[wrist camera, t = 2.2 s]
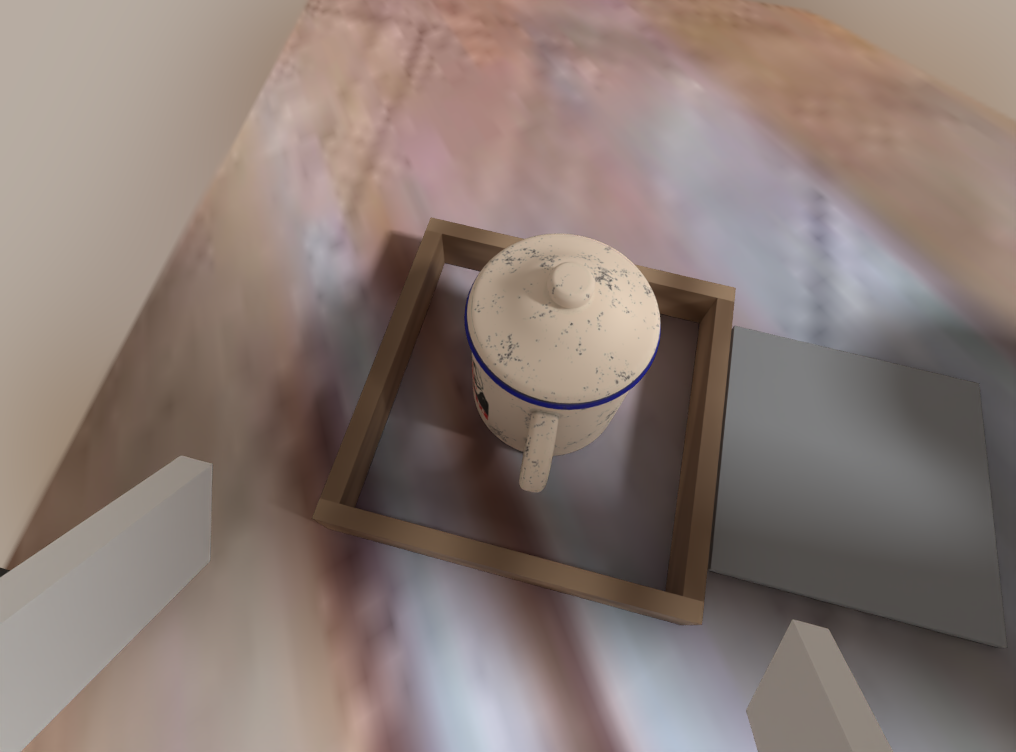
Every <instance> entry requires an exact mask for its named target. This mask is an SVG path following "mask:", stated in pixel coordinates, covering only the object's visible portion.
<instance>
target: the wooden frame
mask: <svg viewBox="0 0 1016 752" xmlns="http://www.w3.org/2000/svg"><path fill="white" fill-rule="evenodd" d="M521 240H524V239H522V238H518V237H513V236H509V235H505V234H500V233H496V232H492V231H487V230H483V229H479V228H474V227H470V226H466V225H461V224H457V223H453V222H448V221H444V220H440V219H435V218H430V221H429V224H428V226H427V229H426V231H425V234H424V236H423V239H422V241H421V244H420V246H419V249H418V251H417V254H416V256H415V259H414V261H413V264H412V267H411V269H410V272H409V274H408V277H407V279H406V282H405V284H404V287H403V289H402V292H401V294H400V297H399V299H398V302H397V304H396V307H395V309H394V312H393V315H392V317H391V320H390V322H389V325H388V327H387V330H386V332H385V335H384V337H383V340H382V342H381V345H380V347H379V350H378V352H377V355H376V358H375V360H374V363H373V365H372V368H371V370H370V373H369V375H368V378H367V380H366V383H365V385H364V388H363V390H362V393H361V395H360V398H359V400H358V403H357V406H356V408H355V411H354V413H353V416H352V418H351V421H350V423H349V426H348V428H347V431H346V433H345V436H344V438H343V441H342V443H341V446H340V448H339V451H338V454H337V456H336V459H335V461H334V464H333V466H332V469H331V471H330V474H329V476H328V479H327V481H326V484H325V486H324V489H323V491H322V494H321V497H320V499H319V502H318V504H317V507H316V509H315V512H314V514H313V517H312V519H314V520H315V521H317V522H318V523H320V524H321V525H323V526H325V527H326V528H328V529H331V530H335V531H339V532H342V533H346V534H350V535H353V536H357V537H361V538H364V539H368V540H372V541H375V542H379V543H383V544H386V545H390V546H394V547H397V548H401V549H405V550H408V551H412V552H415V553H419V554H423V555H426V556H430V557H434V558H437V559H441V560H445V561H448V562H452V563H456V564H459V565H463V566H467V567H470V568H474V569H478V570H481V571H485V572H489V573H492V574H496V575H500V576H503V577H507V578H511V579H514V580H518V581H522V582H525V583H529V584H533V585H536V586H540V587H544V588H547V589H551V590H554V591H558V592H562V593H565V594H569V595H573V596H576V597H580V598H584V599H587V600H591V601H595V602H598V603H602V604H606V605H609V606H613V607H617V608H620V609H624V610H628V611H631V612H635V613H639V614H642V615H646V616H650V617H653V618H657V619H661V620H664V621H668V622H672V623H675V624H679V625H702V619H703V609H704V599H705V589H706V579H707V569H708V559H709V549H710V539H711V529H712V519H713V509H714V499H715V489H716V479H717V469H718V459H719V449H720V439H721V429H722V419H723V409H724V400H725V390H726V380H727V370H728V360H729V350H730V340H731V330H732V320H733V310H734V300H735V290H736V288H734V287H729V286H725V285H721V284H716V283H712V282H708V281H703V280H699V279H695V278H690V277H686V276H682V275H678V274H673V273H669V272H665V271H660V270H656V269H652V268H647V267H643V266H639V265H635V266H636V267H637V268H638V269H639V270H640V272H641V273H642V274H643V275H644V277H645V278H646V280H647V281H648V283H649V285H650V287H651V288H652V290H653V293H654V295H655V298H656V301H657V304H658V308H659V313H660V314H664V315H668V316H672V317H676V318H681V319H685V320H689V321H693V322H698V323H700V325H699V333H698V340H697V348H696V356H695V364H694V372H693V379H692V387H691V395H690V403H689V411H688V418H687V426H686V434H685V442H684V450H683V457H682V465H681V473H680V481H679V489H678V496H677V504H676V512H675V520H674V528H673V535H672V543H671V551H670V559H669V567H668V574H667V582H666V590H665V591H661V590H658V589H654V588H650V587H647V586H643V585H639V584H635V583H632V582H628V581H624V580H621V579H617V578H613V577H610V576H606V575H602V574H598V573H595V572H591V571H587V570H584V569H580V568H576V567H572V566H569V565H565V564H561V563H558V562H554V561H550V560H547V559H543V558H539V557H535V556H532V555H528V554H524V553H521V552H517V551H513V550H510V549H506V548H502V547H498V546H495V545H491V544H487V543H484V542H480V541H476V540H472V539H469V538H465V537H461V536H458V535H454V534H450V533H447V532H443V531H439V530H435V529H432V528H428V527H424V526H421V525H417V524H413V523H409V522H406V521H402V520H398V519H395V518H391V517H387V516H384V515H380V514H376V513H372V512H369V511H365V510H361V509H358V508H355V506H356V503H357V501H358V498H359V495H360V492H361V490H362V487H363V484H364V481H365V479H366V476H367V473H368V471H369V468H370V465H371V462H372V460H373V457H374V454H375V451H376V449H377V446H378V443H379V441H380V438H381V435H382V432H383V430H384V427H385V424H386V421H387V419H388V416H389V413H390V411H391V408H392V405H393V402H394V400H395V397H396V394H397V391H398V389H399V386H400V383H401V381H402V378H403V375H404V372H405V370H406V367H407V364H408V362H409V359H410V356H411V353H412V351H413V348H414V345H415V342H416V340H417V337H418V334H419V332H420V329H421V326H422V323H423V321H424V318H425V315H426V312H427V310H428V307H429V304H430V302H431V299H432V296H433V293H434V291H435V288H436V285H437V282H438V280H439V277H440V274H441V272H442V269H443V266H444V263H448V264H452V265H457V266H461V267H465V268H469V269H474V270H478V271H481V270H482V269H483V267H484V266H485V265H486V264H487V263H488V262H489V261H490V260H491V259H492V258H493V257H494V256H495V255H497V254H498V253H499V252H501V251H502V250H504V249H505V248H507V247H509V246H510V245H512V244H514V243H517V242H519V241H521Z"/></svg>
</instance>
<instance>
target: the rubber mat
mask: <svg viewBox="0 0 1016 752" xmlns="http://www.w3.org/2000/svg"><path fill="white" fill-rule="evenodd" d="M707 570H708V571H712V572H715V573H719V574H723V575H727V576H730V577H734V578H738V579H742V580H746V581H749V582H753V583H757V584H761V585H764V586H768V587H772V588H776V589H779V590H783V591H787V592H791V593H794V594H798V595H802V596H806V597H809V598H813V599H817V600H821V601H824V602H828V603H832V604H836V605H840V606H843V607H847V608H851V609H855V610H858V611H862V612H866V613H870V614H873V615H877V616H881V617H885V618H888V619H892V620H896V621H900V622H903V623H907V624H911V625H915V626H918V627H922V628H926V629H930V630H934V631H937V632H941V633H945V634H949V635H952V636H956V637H960V638H964V639H967V640H971V641H975V642H979V643H982V644H986V645H990V646H994V647H998V648H1007V640H1006V630H1005V621H1004V612H1003V602H1002V593H1001V584H1000V574H999V565H998V556H997V546H996V537H995V527H994V518H993V509H992V499H991V490H990V481H989V471H988V462H987V452H986V443H985V434H984V424H983V415H982V406H981V396H980V387H979V383H975V382H971V381H967V380H963V379H958V378H954V377H950V376H946V375H941V374H937V373H933V372H929V371H924V370H920V369H916V368H912V367H907V366H903V365H899V364H895V363H891V362H886V361H882V360H878V359H874V358H869V357H865V356H861V355H857V354H852V353H848V352H844V351H840V350H835V349H831V348H827V347H823V346H818V345H814V344H810V343H806V342H802V341H797V340H793V339H789V338H785V337H780V336H776V335H772V334H768V333H763V332H759V331H755V330H751V329H746V328H742V327H738V326H734V327H733V328H732V330H731V340H730V350H729V360H728V370H727V380H726V390H725V400H724V409H723V419H722V429H721V439H720V449H719V459H718V469H717V479H716V489H715V499H714V509H713V519H712V529H711V539H710V549H709V559H708V569H707Z"/></svg>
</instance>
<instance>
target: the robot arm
mask: <svg viewBox="0 0 1016 752" xmlns="http://www.w3.org/2000/svg"><path fill="white" fill-rule="evenodd" d="M212 470H213V464H212V463H208V462H204V461H200V460H197V459H193V458H189V457H186V456H182V455H181V456H179V457H178V458H176V459H175V460H173V461H172V462H170V463H169V464H167V465H166V466H164V467H163V468H161V469H160V470H158V471H157V472H156V473H154V474H153V475H151V476H150V477H148V478H147V479H145V480H144V481H142V482H141V483H139V484H138V485H136V486H135V487H133V488H132V489H130V490H129V491H127V492H126V493H124V494H123V495H122V496H120V497H119V498H117V499H116V500H114V501H113V502H111V503H110V504H108V505H107V506H105V507H104V508H102V509H101V510H99V511H98V512H96V513H95V514H93V515H92V516H90V517H89V518H87V519H86V520H85V521H83V522H82V523H80V524H79V525H77V526H76V527H74V528H73V529H71V530H70V531H68V532H67V533H65V534H64V535H62V536H61V537H59V538H58V539H56V540H55V541H53V542H52V543H51V544H49V545H48V546H46V547H45V548H43V549H42V550H40V551H39V552H37V553H36V554H34V555H33V556H31V557H30V558H28V559H27V560H25V561H24V562H22V563H21V564H19V565H18V566H16V567H15V568H14V569H12V570H11V571H10V570H6V569H3V568H0V752H21V751H22V750H23V749H24V748H25V747H26V746H27V745H28V744H29V743H30V742H31V741H32V740H33V739H34V738H35V737H36V736H37V735H38V734H39V733H40V732H41V731H42V730H43V729H44V728H45V727H46V726H47V725H48V724H49V723H50V722H51V720H52V719H53V718H54V717H55V716H56V715H57V714H58V713H59V712H60V711H61V710H62V709H63V708H64V707H65V706H66V705H67V704H68V703H69V702H70V701H71V700H72V699H73V698H74V697H75V696H76V695H77V694H78V693H79V692H80V691H81V690H82V689H83V688H84V687H85V686H86V685H87V684H88V683H89V682H90V681H91V680H92V679H93V678H94V677H95V676H96V675H97V674H98V673H99V672H100V671H101V670H102V669H103V668H104V667H105V666H106V665H107V664H108V663H109V662H110V661H111V660H112V659H113V658H114V657H115V656H116V655H117V654H118V653H119V652H120V651H121V650H122V649H123V648H124V647H125V646H126V645H127V644H128V643H129V642H130V641H131V640H132V639H133V638H134V637H135V636H136V635H137V634H138V633H139V632H140V631H141V630H142V629H143V628H144V627H145V626H146V625H147V624H148V623H149V622H150V621H151V620H152V619H153V618H154V617H155V616H156V615H157V614H158V613H159V612H160V611H161V610H162V609H163V608H164V607H165V606H166V605H167V604H168V603H169V602H170V601H171V600H172V599H173V598H174V597H175V596H176V595H177V594H178V593H179V592H180V591H181V590H182V589H183V588H184V587H185V586H186V585H187V584H188V583H189V582H190V581H191V580H192V579H193V578H194V577H195V576H196V575H197V574H198V573H199V572H200V571H201V570H202V569H203V568H204V567H205V566H206V565H207V564H208V563H209V562H210V551H211V511H212ZM746 712H747V715H748V719H749V722H750V725H751V729H752V732H753V736H754V739H755V743H756V746H757V750H758V752H893V750H892V749H891V747H890V745H889V743H888V741H887V739H886V737H885V735H884V733H883V731H882V730H881V728H880V726H879V724H878V722H877V720H876V718H875V716H874V714H873V712H872V711H871V709H870V707H869V705H868V703H867V701H866V699H865V697H864V695H863V693H862V691H861V690H860V688H859V686H858V684H857V682H856V680H855V678H854V676H853V674H852V672H851V671H850V669H849V667H848V665H847V663H846V661H845V659H844V657H843V655H842V653H841V652H840V650H839V648H838V646H837V644H836V642H835V640H834V638H833V636H832V634H831V632H830V631H829V629H827V628H824V627H820V626H816V625H812V624H809V623H805V622H801V621H797V620H794V619H792V621H791V623H790V625H789V627H788V629H787V631H786V633H785V635H784V637H783V639H782V641H781V643H780V645H779V647H778V649H777V651H776V653H775V654H774V656H773V658H772V660H771V662H770V664H769V666H768V668H767V670H766V672H765V674H764V676H763V678H762V680H761V682H760V684H759V686H758V688H757V690H756V692H755V694H754V696H753V698H752V700H751V702H750V704H749V706H748V708H747V710H746Z"/></svg>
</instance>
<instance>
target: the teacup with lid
mask: <svg viewBox="0 0 1016 752" xmlns="http://www.w3.org/2000/svg"><path fill="white" fill-rule="evenodd" d="M464 319H465V331H466V336H467V340H468V343H469V346H470V348H471V356H472V378H473V394H474V400H475V404H476V407H477V409H478V412H479V414H480V416H481V418H482V420H483V421H484V423H485V424H486V426H487V427H488V428H489V429H490V431H491V432H492V433H493V434H494V435H495V436H497V437H498V438H499V439H500V440H501V441H503V442H504V443H506V444H507V445H509V446H511V447H513V448H515V449H517V450H519V451H522V452H524V454H523V459H522V465H521V471H520V478H519V484H520V487H521V488H522V489H523V490H525V491H529V492H535V493H538V492H541V491H542V490H543V489H544V488H545V486H546V483H547V480H548V476H549V472H550V467H551V462H552V457H553V456H558V455H564V454H568V453H572V452H574V451H577V450H579V449H581V448H583V447H585V446H587V445H588V444H590V443H591V442H593V441H594V440H595V439H596V438H597V437H599V436H600V435H601V434H602V432H603V431H604V430H605V429H606V427H607V426H608V424H609V423H610V421H611V420H612V418H613V416H614V415H615V413H616V411H617V410H618V408H619V407H620V405H621V403H622V402H623V400H624V398H625V397H626V395H627V393H628V392H629V390H630V389H631V388H633V387H634V386H635V385H636V384H637V383H638V382H639V381H640V380H641V379H642V377H643V376H644V375H645V374H646V372H647V371H648V369H649V368H650V366H651V364H652V362H653V360H654V358H655V356H656V353H657V350H658V346H659V342H660V334H661V324H660V313H659V308H658V304H657V301H656V298H655V295H654V293H653V290H652V288H651V287H650V285H649V283H648V281H647V280H646V278H645V277H644V275H643V274H642V273H641V272H640V270H639V269H638V268H637V267H636V266H635V265H634V264H633V263H632V262H631V261H630V260H629V259H628V258H626V257H625V256H624V255H623V254H621V253H620V252H618V251H617V250H615V249H613V248H612V247H610V246H608V245H606V244H604V243H602V242H599V241H596V240H594V239H590V238H587V237H583V236H578V235H572V234H545V235H539V236H534V237H530V238H527V239H524V240H521V241H519V242H517V243H514V244H512V245H510V246H509V247H507V248H505V249H504V250H502V251H501V252H499V253H498V254H497V255H495V256H494V257H493V258H492V259H491V260H490V261H489V262H488V263H487V264H486V265H485V266H484V267H483V269H482V270H481V272H480V273H479V275H478V276H477V277H476V279H475V281H474V283H473V284H472V287H471V289H470V291H469V294H468V297H467V301H466V306H465V316H464Z"/></svg>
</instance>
